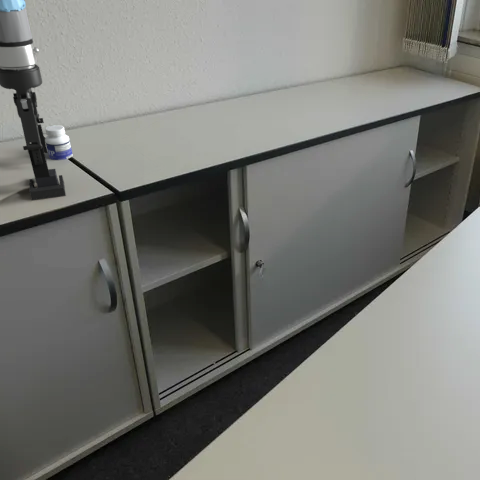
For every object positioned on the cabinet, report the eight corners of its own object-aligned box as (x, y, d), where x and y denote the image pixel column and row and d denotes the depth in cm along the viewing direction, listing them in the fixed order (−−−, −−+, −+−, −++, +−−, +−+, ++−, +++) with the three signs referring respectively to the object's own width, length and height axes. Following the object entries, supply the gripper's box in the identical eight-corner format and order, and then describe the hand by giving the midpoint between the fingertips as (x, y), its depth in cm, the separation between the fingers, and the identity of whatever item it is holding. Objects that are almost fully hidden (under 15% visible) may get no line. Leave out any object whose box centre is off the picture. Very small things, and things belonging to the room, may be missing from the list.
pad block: (39, 187, 122) (35, 170, 120) (59, 184, 124) (55, 168, 122) (39, 194, 119) (35, 178, 117) (59, 192, 121) (55, 175, 119)
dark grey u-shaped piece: (31, 187, 122) (29, 178, 121) (64, 182, 125) (62, 175, 124) (31, 200, 117) (29, 192, 116) (65, 195, 119) (63, 187, 118)
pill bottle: (47, 161, 134) (38, 126, 129) (69, 156, 137) (62, 122, 133) (55, 168, 131) (46, 133, 126) (77, 163, 134) (70, 129, 130)
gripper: (40, 81, 100) (64, 185, 111) (37, 50, 118) (57, 142, 129) (-8, 83, 96) (21, 190, 107) (-4, 51, 115) (21, 145, 126)
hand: (41, 164), depth 118 cm, fingers open, 13 cm apart
